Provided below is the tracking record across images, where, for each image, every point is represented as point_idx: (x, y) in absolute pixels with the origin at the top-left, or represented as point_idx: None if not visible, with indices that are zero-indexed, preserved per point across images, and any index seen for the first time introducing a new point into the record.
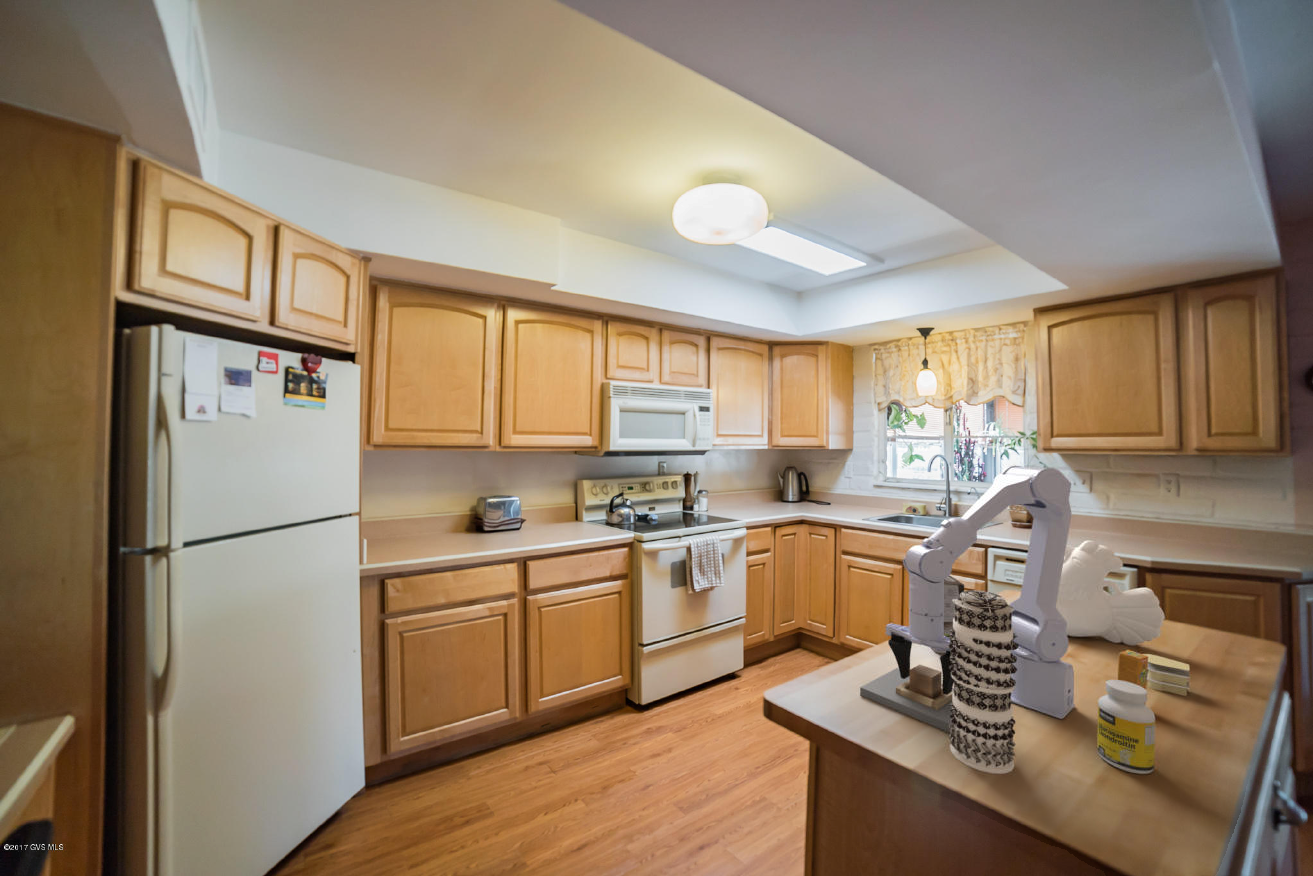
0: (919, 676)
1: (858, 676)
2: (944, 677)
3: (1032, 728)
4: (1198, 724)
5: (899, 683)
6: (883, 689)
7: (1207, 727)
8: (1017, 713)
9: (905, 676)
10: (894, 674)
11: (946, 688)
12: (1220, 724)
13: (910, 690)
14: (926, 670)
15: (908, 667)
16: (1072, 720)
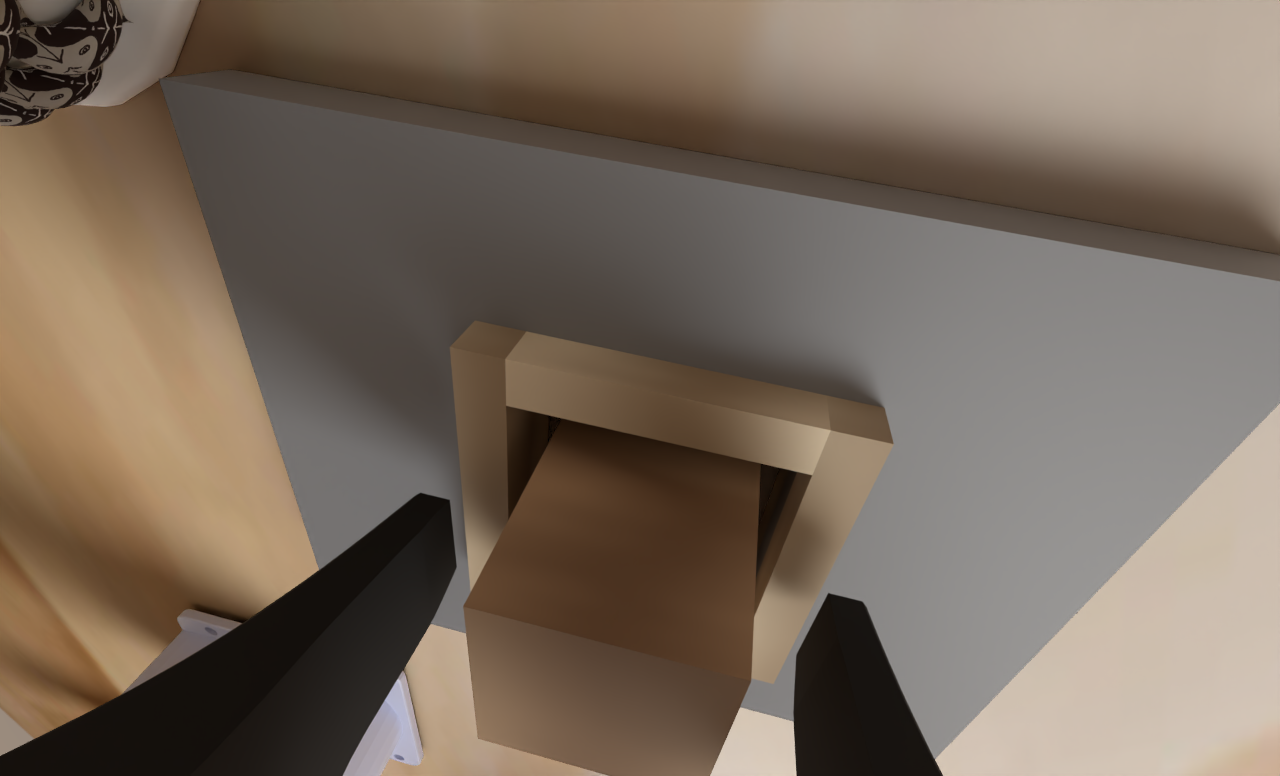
0: (625, 610)
1: (1264, 605)
2: (303, 629)
3: (178, 489)
4: (66, 714)
5: (878, 582)
6: (1025, 410)
7: (49, 708)
8: (298, 583)
9: (821, 627)
10: (940, 686)
11: (374, 531)
12: (56, 727)
13: (749, 482)
14: (589, 723)
15: (806, 744)
16: (177, 617)
